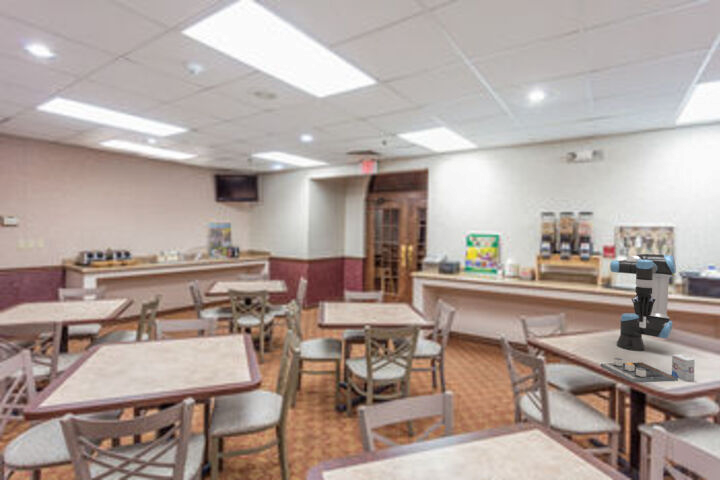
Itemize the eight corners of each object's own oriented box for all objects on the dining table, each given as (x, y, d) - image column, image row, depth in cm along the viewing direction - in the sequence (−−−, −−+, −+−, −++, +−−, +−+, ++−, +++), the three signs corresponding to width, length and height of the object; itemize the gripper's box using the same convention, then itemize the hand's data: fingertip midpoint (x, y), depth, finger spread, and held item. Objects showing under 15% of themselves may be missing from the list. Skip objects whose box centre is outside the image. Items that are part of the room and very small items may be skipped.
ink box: (670, 375, 197) (671, 354, 196) (679, 374, 197) (679, 353, 197) (686, 381, 188) (686, 359, 188) (694, 381, 189) (695, 359, 188)
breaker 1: (618, 363, 208) (618, 357, 208) (622, 365, 205) (623, 359, 205) (613, 363, 208) (614, 357, 207) (618, 365, 205) (618, 359, 204)
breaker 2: (641, 374, 193) (641, 367, 193) (645, 376, 190) (646, 369, 190) (635, 374, 193) (636, 367, 192) (640, 376, 190) (640, 370, 189)
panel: (641, 364, 211) (641, 362, 211) (677, 380, 189) (677, 377, 189) (600, 366, 209) (600, 363, 209) (632, 382, 187) (632, 379, 187)
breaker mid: (629, 368, 200) (630, 362, 200) (634, 370, 197) (634, 364, 197) (625, 368, 200) (625, 362, 200) (629, 371, 197) (629, 364, 197)
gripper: (648, 285, 207) (647, 325, 208) (627, 285, 206) (626, 325, 207) (660, 287, 200) (659, 329, 201) (639, 287, 199) (637, 329, 200)
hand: (642, 327), depth 204 cm, fingers closed
